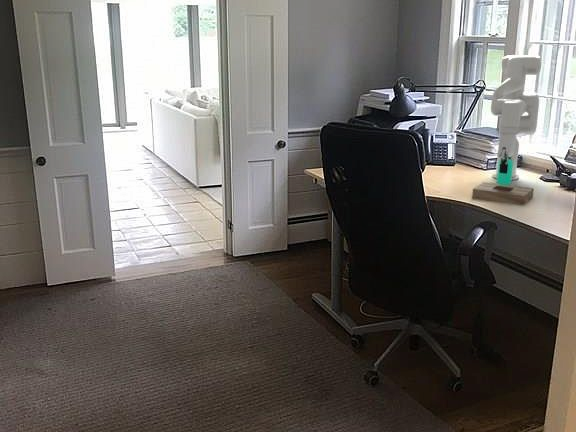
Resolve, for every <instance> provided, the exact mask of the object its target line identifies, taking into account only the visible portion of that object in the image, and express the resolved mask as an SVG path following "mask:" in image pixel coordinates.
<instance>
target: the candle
mask: <svg viewBox="0 0 576 432" xmlns="http://www.w3.org/2000/svg"><path fill="white" fill-rule="evenodd" d="M500 161H501V160H499V165H498V175H497V178H496V184H500V185H512V181H513V180H512V170H513V161H512V160H510V159H508V163H507V164H508V170H507V173H506V174H505V173H500V172H499V171H500Z"/></svg>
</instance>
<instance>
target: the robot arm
mask: <svg viewBox="0 0 576 432" xmlns="http://www.w3.org/2000/svg"><path fill="white" fill-rule="evenodd" d="M501 69H502V74H503V77H504V81H503V82H502V83H501V84H499V85H498V86H497V87H496V88H495V90H494V91H493V94H492V99H491V104H490V112H491V114H492V115H493V116H496V117H500V118H499V119H498V135H499V137H498V148H497V158H496V159H497V161H496V168H495V172H494V173H492V178H494V179H497V175H498V165H499V160H501V161H500V171H499V172H500V173H505V174H506V173H507V170H508V164H507V163H508V159H510V160H512V161H513V170H512V180H511V181H513V180H519V178H520V176H519V175H518V174H517V166H518V159H519V150H520V149H519V148H520V142H519V140H518V139H517V136H518V135H523V136H525V135H526V136H532V135H534V134H535V133H536V131H537V128H538V127H537V125H538V117H539V106H540V98H539V97H540V96H539V94H538V93H536V92H534V91H533V92H531V91H530V92H528V91H525V84H526V76H531V75H532V76H538V75H539V74H540V72H541V71H542V70H541V69H542V59H541V57H540V56H539V55H522V54H520V55H518V54H517V55H516V54H514V55H513V54H512V55H506V56H504V57H502V60H501ZM502 97H503V98H502ZM525 113H527V114H525Z"/></svg>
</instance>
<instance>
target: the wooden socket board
mask: <svg viewBox="0 0 576 432" xmlns="http://www.w3.org/2000/svg"><path fill="white" fill-rule="evenodd" d="M534 190H535V188H534V187H526V186H520V185H519V186H518V185H513V184H511V185H500V184H497V182H495V183H494V182H488V181H487V182H486V181H483V182H482V183H480V184H478V185H477V186H475V187H473V188H472V192H471V193H472V194H471V195H472V196H471V197H472V199H479V200H486V201H494V202H501V203H508V204H513V205H514V204H515V205H522V206H523V205H525V204H527V203H528V202H529V201H530V200H532V199H533V197H534Z"/></svg>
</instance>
